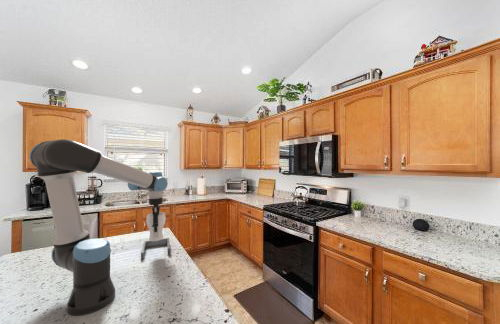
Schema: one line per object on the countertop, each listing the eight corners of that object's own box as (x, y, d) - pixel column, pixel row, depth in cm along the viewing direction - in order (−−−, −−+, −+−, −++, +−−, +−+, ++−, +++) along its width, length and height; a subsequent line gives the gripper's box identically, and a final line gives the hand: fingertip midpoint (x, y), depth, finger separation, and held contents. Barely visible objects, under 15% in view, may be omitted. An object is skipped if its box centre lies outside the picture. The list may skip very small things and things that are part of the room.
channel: (169, 255, 123) (169, 248, 123) (140, 259, 117) (140, 252, 117) (169, 243, 141) (169, 237, 141) (144, 247, 135) (144, 241, 135)
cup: (169, 236, 128) (168, 212, 128) (159, 242, 117) (159, 216, 117) (152, 235, 129) (152, 211, 129) (142, 242, 118) (142, 216, 118)
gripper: (162, 200, 114) (162, 239, 114) (162, 194, 135) (163, 227, 135) (147, 201, 111) (147, 242, 111) (150, 195, 132) (150, 229, 132)
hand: (156, 234), depth 123 cm, fingers closed on cup, 11 cm apart
